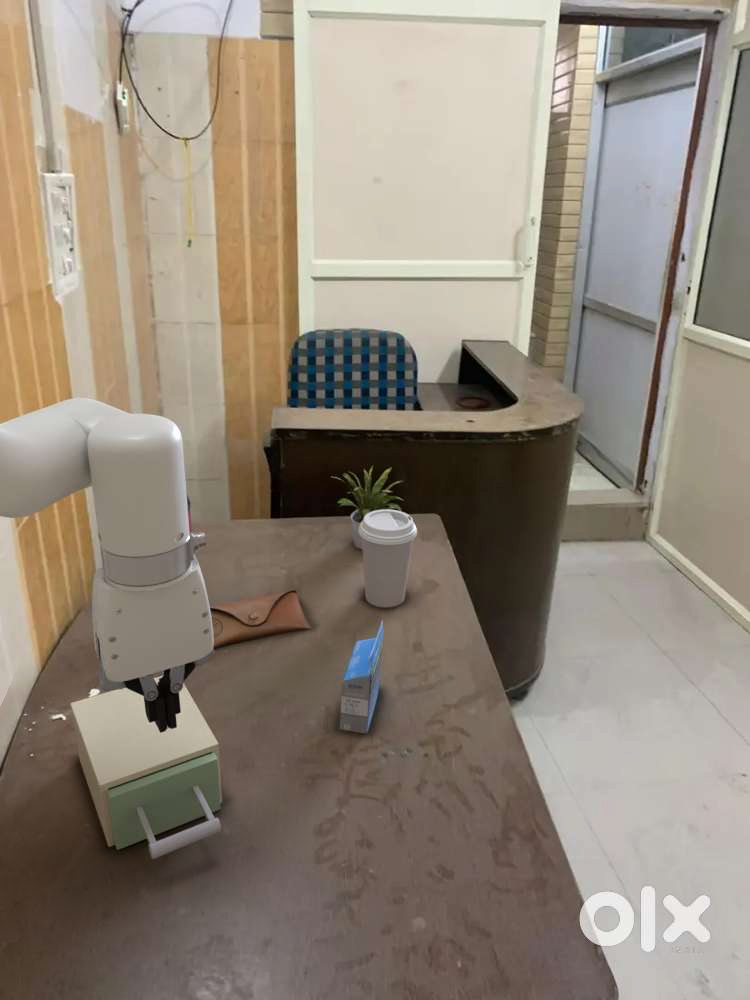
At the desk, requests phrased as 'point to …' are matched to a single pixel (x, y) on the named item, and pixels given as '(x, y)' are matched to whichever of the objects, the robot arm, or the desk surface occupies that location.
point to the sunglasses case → (257, 618)
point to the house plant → (367, 501)
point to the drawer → (167, 805)
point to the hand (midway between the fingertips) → (164, 721)
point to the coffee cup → (386, 555)
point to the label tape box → (361, 684)
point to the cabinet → (133, 742)
